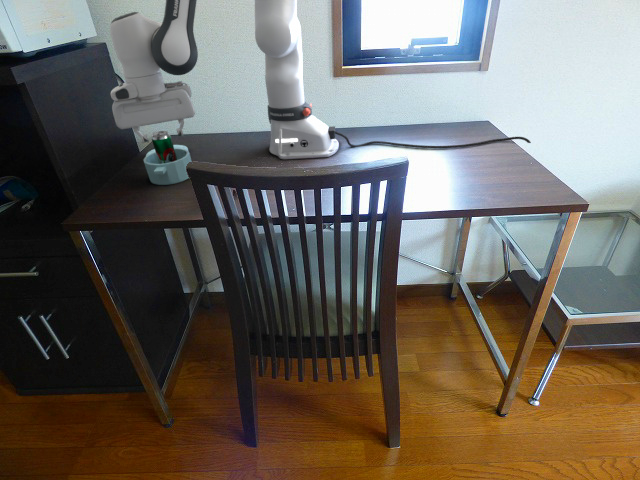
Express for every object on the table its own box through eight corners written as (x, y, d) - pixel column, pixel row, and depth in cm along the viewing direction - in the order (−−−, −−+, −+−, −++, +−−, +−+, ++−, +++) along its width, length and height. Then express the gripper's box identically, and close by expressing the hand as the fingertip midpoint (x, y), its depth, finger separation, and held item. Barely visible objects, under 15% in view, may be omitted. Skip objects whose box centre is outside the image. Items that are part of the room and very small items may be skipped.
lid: (192, 146, 132) (189, 134, 130) (183, 161, 121) (179, 148, 119) (154, 149, 132) (150, 137, 130) (141, 164, 121) (137, 152, 119)
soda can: (183, 170, 114) (172, 130, 108) (176, 177, 110) (164, 136, 103) (167, 170, 115) (155, 130, 108) (159, 177, 111) (147, 136, 104)
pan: (199, 162, 120) (195, 143, 117) (186, 187, 105) (180, 166, 102) (159, 165, 120) (154, 146, 117) (141, 190, 105) (133, 170, 102)
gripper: (187, 78, 104) (200, 128, 111) (106, 90, 99) (126, 142, 107) (188, 82, 99) (202, 134, 106) (103, 95, 94) (124, 149, 102)
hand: (163, 138), depth 107 cm, fingers open, 8 cm apart
